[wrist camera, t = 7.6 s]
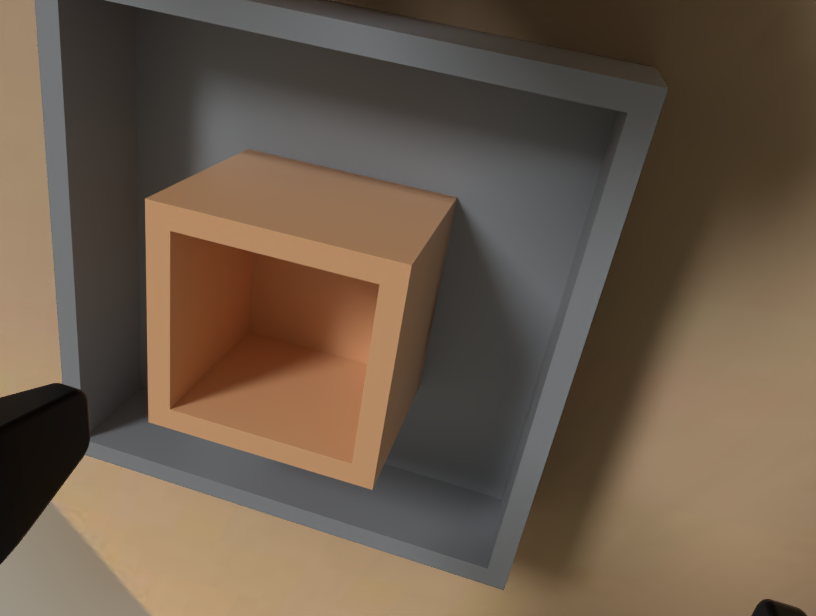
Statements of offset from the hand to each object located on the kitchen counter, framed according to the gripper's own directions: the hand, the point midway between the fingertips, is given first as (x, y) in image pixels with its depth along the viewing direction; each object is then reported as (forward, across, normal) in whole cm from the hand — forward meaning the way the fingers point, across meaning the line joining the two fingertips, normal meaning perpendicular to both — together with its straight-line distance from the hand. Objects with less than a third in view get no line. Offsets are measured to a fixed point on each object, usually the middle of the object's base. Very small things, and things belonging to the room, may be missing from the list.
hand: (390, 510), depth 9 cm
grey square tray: (+12, +5, +2) cm, 13 cm away
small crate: (+11, +5, +2) cm, 12 cm away
